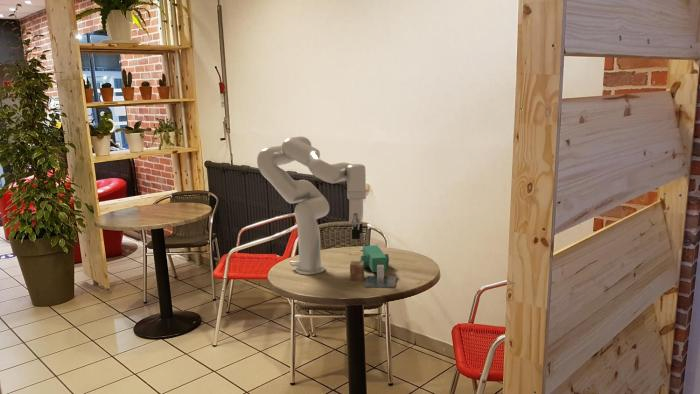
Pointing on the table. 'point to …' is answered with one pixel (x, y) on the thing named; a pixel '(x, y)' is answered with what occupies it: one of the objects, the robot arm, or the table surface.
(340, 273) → the table surface
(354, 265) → the tan cardboard carton
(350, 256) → the table surface
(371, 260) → the toy
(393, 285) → the grey base plate
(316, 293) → the table surface
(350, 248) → the table surface
